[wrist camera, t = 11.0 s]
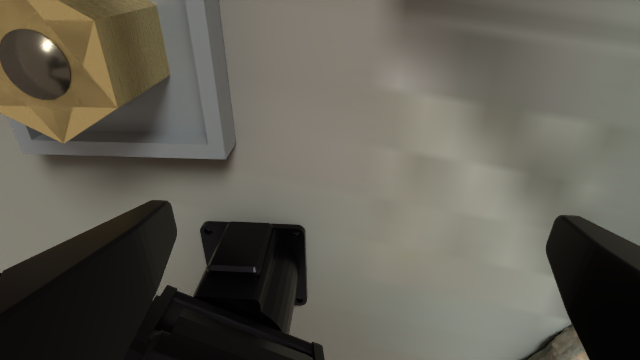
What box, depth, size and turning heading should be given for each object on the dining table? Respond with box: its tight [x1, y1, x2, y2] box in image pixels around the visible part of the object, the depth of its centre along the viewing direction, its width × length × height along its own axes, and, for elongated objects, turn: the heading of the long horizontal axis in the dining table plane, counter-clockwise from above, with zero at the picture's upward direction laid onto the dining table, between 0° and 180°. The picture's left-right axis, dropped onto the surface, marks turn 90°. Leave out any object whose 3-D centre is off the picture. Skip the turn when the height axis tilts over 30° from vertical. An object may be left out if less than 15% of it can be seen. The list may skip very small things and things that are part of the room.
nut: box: [0, 0, 170, 144], centre depth 17 cm, size 6×6×5 cm
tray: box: [7, 0, 236, 159], centre depth 19 cm, size 11×11×2 cm
